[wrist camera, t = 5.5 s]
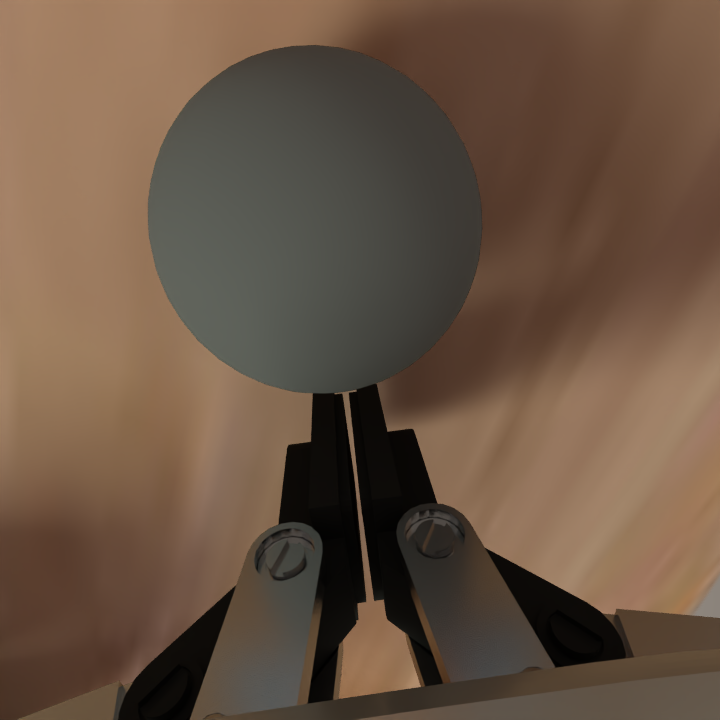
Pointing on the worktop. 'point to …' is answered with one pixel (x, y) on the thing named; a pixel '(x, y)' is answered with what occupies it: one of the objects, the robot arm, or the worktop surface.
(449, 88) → the worktop surface
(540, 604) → the robot arm
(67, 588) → the worktop surface
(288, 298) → the grey-green ball
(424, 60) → the worktop surface
